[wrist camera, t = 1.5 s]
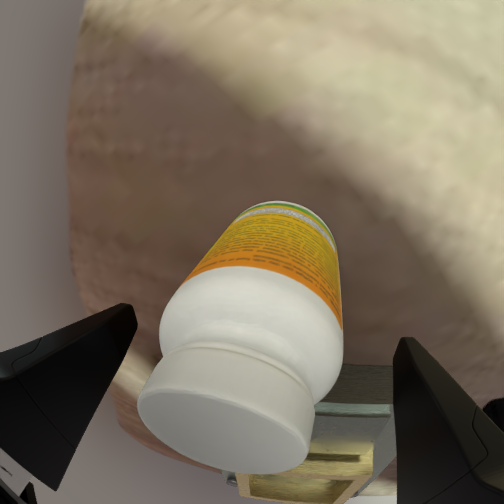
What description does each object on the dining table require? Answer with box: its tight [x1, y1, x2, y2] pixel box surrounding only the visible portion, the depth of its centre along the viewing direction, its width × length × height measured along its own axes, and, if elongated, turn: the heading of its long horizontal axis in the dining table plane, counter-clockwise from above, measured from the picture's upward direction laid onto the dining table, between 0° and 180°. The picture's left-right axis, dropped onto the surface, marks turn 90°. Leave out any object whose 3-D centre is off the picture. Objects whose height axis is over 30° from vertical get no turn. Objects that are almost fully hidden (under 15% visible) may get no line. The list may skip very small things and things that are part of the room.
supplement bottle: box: [137, 201, 343, 474], centre depth 10 cm, size 5×5×10 cm
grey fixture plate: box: [221, 364, 397, 504], centre depth 18 cm, size 14×18×5 cm
